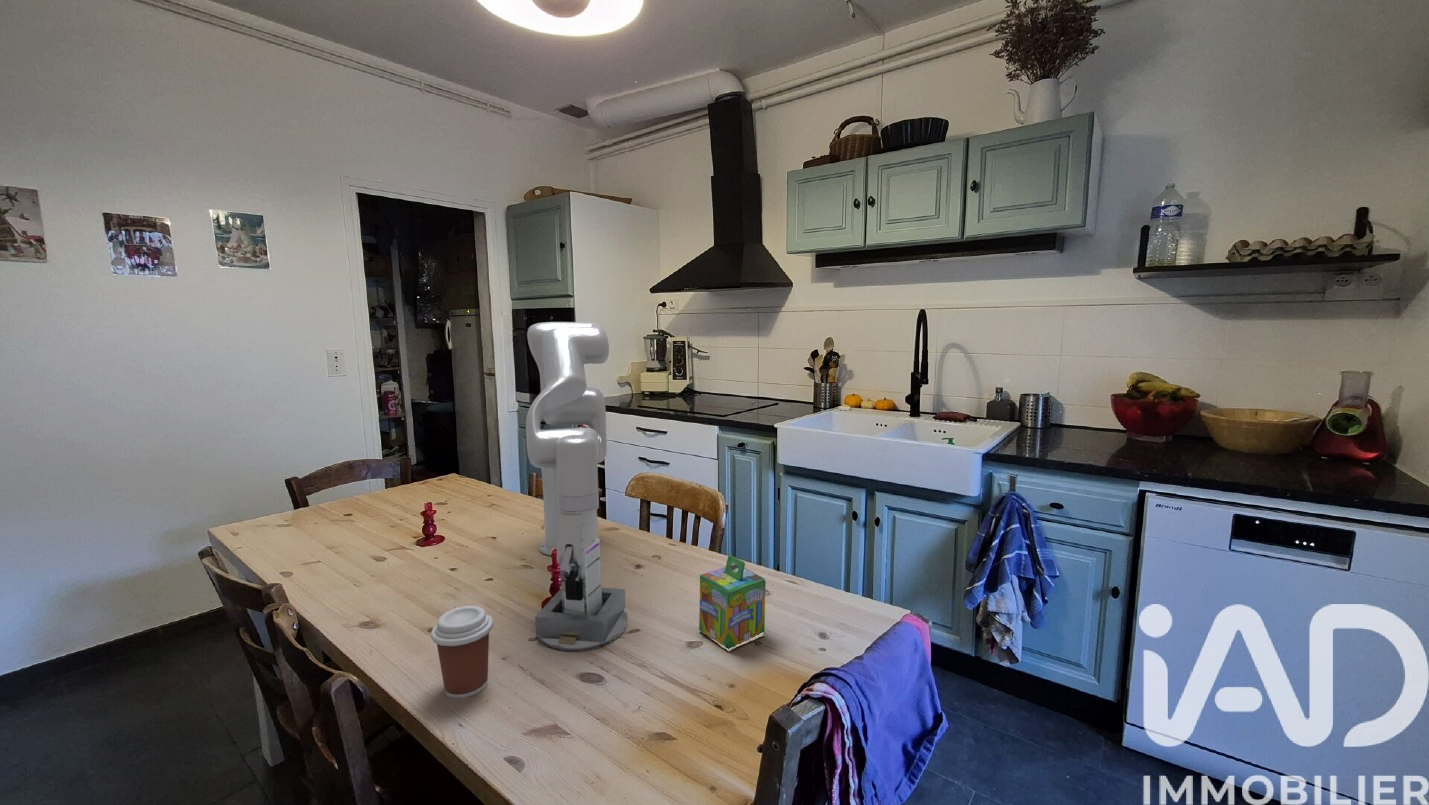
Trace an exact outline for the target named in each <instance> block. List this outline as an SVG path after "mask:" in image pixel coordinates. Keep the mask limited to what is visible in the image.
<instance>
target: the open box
mask: <svg viewBox="0 0 1429 805" xmlns="http://www.w3.org/2000/svg"><path fill="white" fill-rule="evenodd" d="M601 592H602V608H601V610H600V611H599V612H598V613H597V614H595V615H583V614H568V613H563V610H562V590H561V588H560V589H559V590H558V592H556V594H554V595H553V597H552V598H551V599H550V600H549V601H548V602H547V604H545V605H544V607H543V608H542V609H541V610H540V611H539V612H538V613H537V614H536V616H535V617H534V619H535V620H534V621H535V624H534V625H535V637H536V638H537V639H538V640H539V642H540V641H541V642H542V643H541V642H540V643H541V644H543V645H544V646H545V647H547V648H549V647H550V648H549V649H553V650H555V651H560V650H563V651H562V652H582V651H581V650H585V651H589V650H593V649H592V648H594V649H597V648H596V647H598V648H600V647H599V646H601V647H604V646H605V645H604V644H606V645H608V644H610V643H611V642H610V641H612V642H614V641H615V640H614V639H615V638H617V637H618V636H619V635H621V634H622V632H623V631H624V630H625V629H627V627H628V615H627V613H626V611H625V609H626V590H625V588H615V587H614V588H613V587H601ZM626 626H627V627H626ZM625 631H626V630H625ZM625 631H624V632H625ZM622 635H623V634H622ZM622 635H621V636H622ZM618 638H619V637H618ZM618 638H617V639H618ZM613 640H614V641H613ZM609 642H610V643H609ZM607 643H608V644H607ZM603 645H604V646H603Z"/></svg>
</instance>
